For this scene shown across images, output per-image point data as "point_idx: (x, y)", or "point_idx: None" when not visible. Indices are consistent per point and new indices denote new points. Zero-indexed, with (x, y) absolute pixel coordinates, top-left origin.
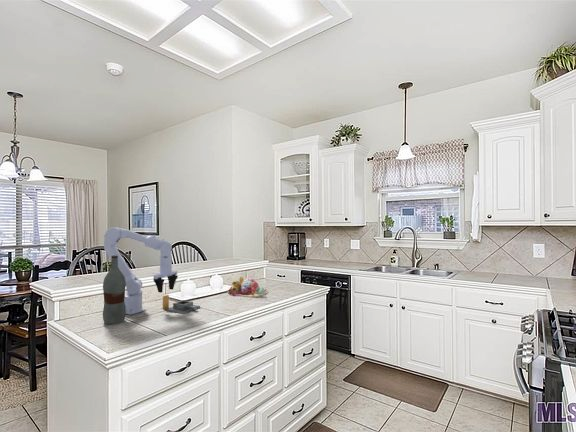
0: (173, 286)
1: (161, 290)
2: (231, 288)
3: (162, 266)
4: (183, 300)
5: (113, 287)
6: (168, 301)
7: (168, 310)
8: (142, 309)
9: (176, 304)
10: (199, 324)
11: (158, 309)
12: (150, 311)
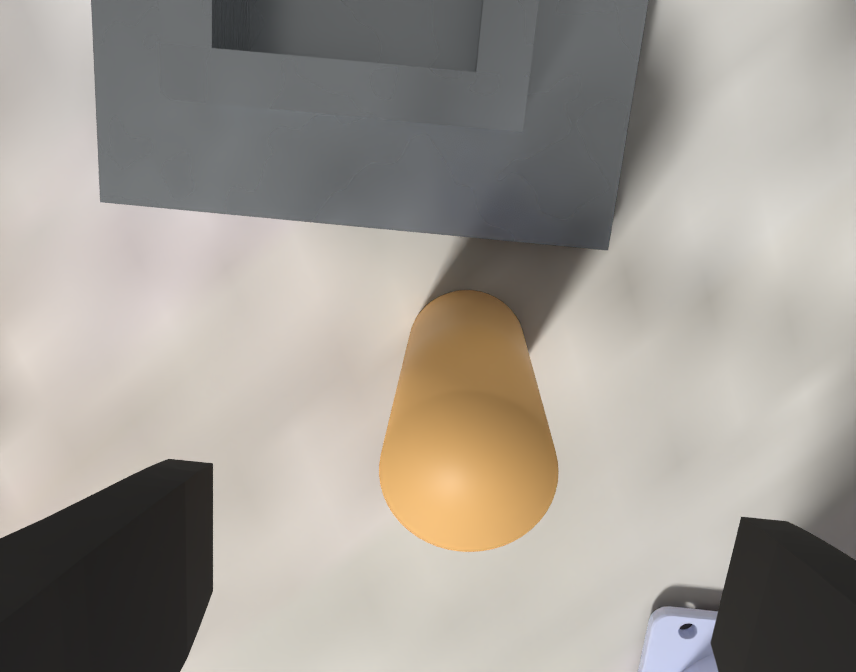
0: (121, 494)
1: (840, 554)
2: None
3: None
4: (167, 66)
5: None
6: (451, 336)
7: (615, 169)
8: (701, 654)
9: (535, 8)
10: None
11: None
12: (702, 490)
